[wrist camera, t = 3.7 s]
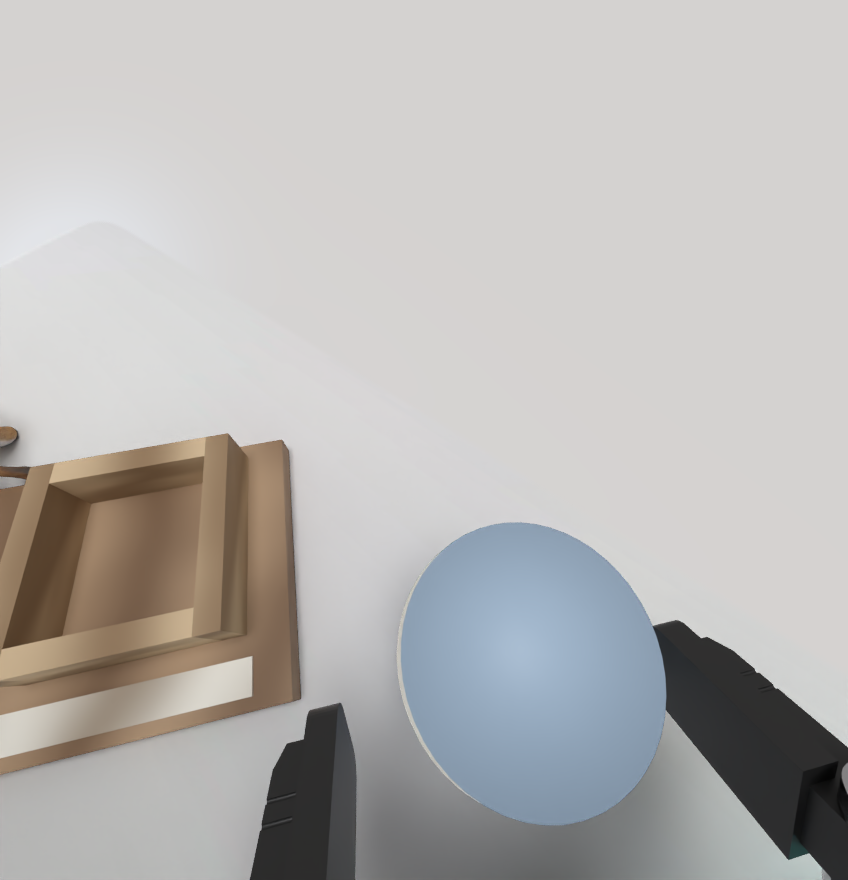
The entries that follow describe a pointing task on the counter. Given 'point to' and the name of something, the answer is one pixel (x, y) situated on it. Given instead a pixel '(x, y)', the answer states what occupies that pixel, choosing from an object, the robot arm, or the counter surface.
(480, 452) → the counter surface
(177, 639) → the jig board
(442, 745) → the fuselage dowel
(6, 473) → the lion figurine
